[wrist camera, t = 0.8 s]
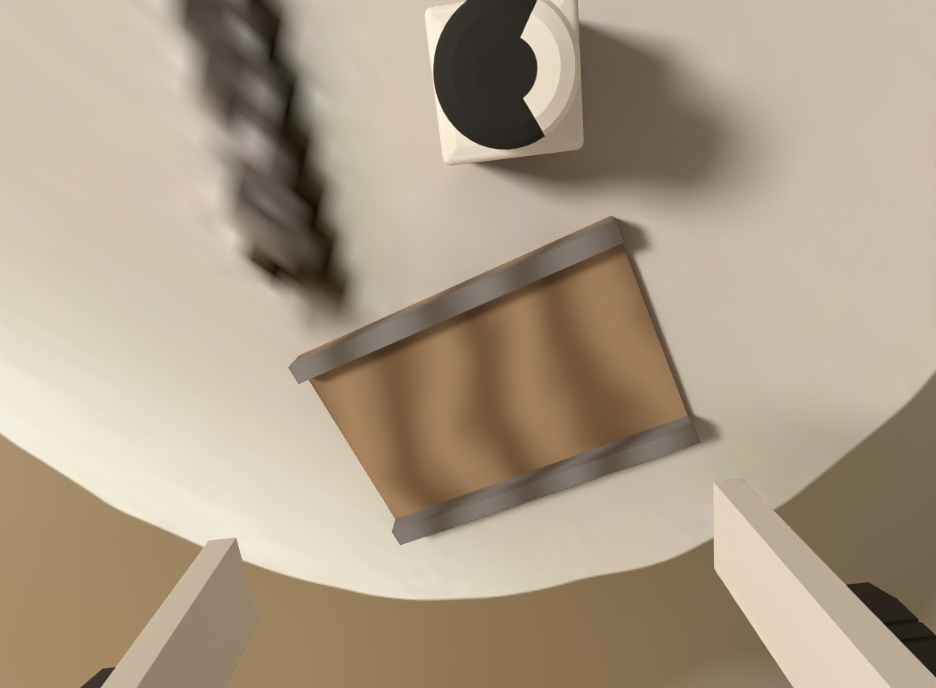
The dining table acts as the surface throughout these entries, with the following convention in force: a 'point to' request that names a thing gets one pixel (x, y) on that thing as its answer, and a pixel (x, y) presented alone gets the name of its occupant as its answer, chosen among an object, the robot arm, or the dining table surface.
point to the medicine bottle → (506, 78)
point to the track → (505, 386)
